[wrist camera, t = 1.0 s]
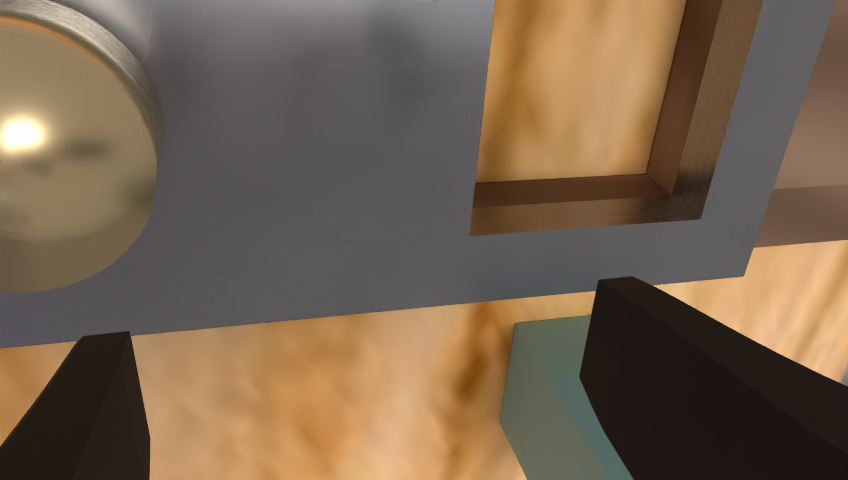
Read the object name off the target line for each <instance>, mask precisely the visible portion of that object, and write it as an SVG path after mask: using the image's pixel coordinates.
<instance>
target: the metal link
mask: <svg viewBox="0 0 848 480" xmlns="http://www.w3.org/2000/svg"><path fill="white" fill-rule="evenodd" d="M835 3H836V0H723V1H722V5H721V9H720V13H719V17H718V21H717V24H716V28H715V32H714V36H713V40H712V44H711V47H710V51H709V55H708V59H707V63H706V67H705V70H704V74H703V78H702V82H701V86H700V90H699V93H698V97H697V101H696V105H695V109H694V113H693V117H692V120H691V124H690V128H689V132H688V136H687V140H686V143H685V147H684V151H683V155H682V159H681V163H680V166H679V170H678V174H677V178H676V182H675V186H674V189H673V193H672V196H656V197H640V198H624V199H608V200H592V201H576V202H560V203H544V204H528V205H512V206H496V207H481V208H472V206H473V197H474V188H475V179H476V170H477V161H478V152H479V143H480V134H481V125H482V115H483V106H484V97H485V88H486V79H487V70H488V61H489V52H490V43H491V34H492V25H493V16H494V7H495V0H0V348H9V347H20V346H30V345H40V344H51V343H61V342H71V341H79V340H80V339H81V338H82V336H88V335H97V334H106V333H115V332H124V331H130V335H131V336H133V335H144V334H154V333H164V332H175V331H185V330H195V329H206V328H216V327H226V326H237V325H247V324H257V323H268V322H278V321H288V320H298V319H309V318H319V317H329V316H340V315H350V314H360V313H371V312H381V311H391V310H402V309H412V308H422V307H433V306H443V305H453V304H464V303H474V302H484V301H495V300H505V299H515V298H526V297H536V296H546V295H557V294H567V293H577V292H588V291H596V289H597V284H598V280H601V279H610V278H619V277H628V276H633V277H635V278H637V279H640V280H642V281H644V282H646V283H648V284H650V285H660V284H670V283H681V282H691V281H701V280H712V279H722V278H732V277H743V276H744V274H745V271H746V268H747V265H748V262H749V259H750V256H751V253H752V250H753V247H754V244H755V241H756V238H757V235H758V232H759V229H760V226H761V223H762V220H763V217H764V215H765V212H766V209H767V206H768V203H769V200H770V197H771V194H772V191H773V188H774V185H775V182H776V179H777V176H778V173H779V170H780V167H781V164H782V161H783V158H784V155H785V152H786V149H787V146H788V143H789V140H790V137H791V134H792V131H793V128H794V125H795V122H796V119H797V116H798V113H799V110H800V107H801V104H802V101H803V98H804V95H805V92H806V89H807V86H808V83H809V80H810V77H811V74H812V71H813V68H814V65H815V62H816V60H817V57H818V54H819V51H820V48H821V45H822V42H823V39H824V36H825V33H826V30H827V27H828V24H829V21H830V18H831V15H832V12H833V9H834V6H835Z"/></svg>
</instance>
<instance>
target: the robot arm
mask: <svg viewBox="0 0 848 480" xmlns="http://www.w3.org/2000/svg"><path fill="white" fill-rule="evenodd" d="M579 378H580V380H581V383H582V385H583V387H584V390H585V392H586V394H587V397H588V399H589V401H590V404H591V406H592V408H593V410H594V412H595V414H596V417H597V419H598V421H599V423H600V425H601V427H602V429H603V431H604V433H605V434H606V436H607V438H608V439H609V441H610V443H611V444H612V446H613V447H614V449H615V451H616V452H617V454H618V455H619V457H620V459H621V460H622V462H623V464H624V465H625V467H626V468H627V470H628V472H629V473H630V475H631V476H632V478H633V479H634V480H848V387H847V386H845V385H843V384H841V383H839V382H836V381H834V380H832V379H830V378H827V377H825V376H823V375H821V374H819V373H817V372H815V371H813V370H811V369H809V368H807V367H805V366H803V365H801V364H799V363H796V362H794V361H792V360H790V359H788V358H786V357H784V356H782V355H780V354H778V353H776V352H774V351H772V350H771V349H769V348H767V347H765V346H763V345H761V344H759V343H757V342H755V341H753V340H751V339H750V338H748V337H746V336H744V335H742V334H740V333H738V332H737V331H735V330H733V329H731V328H729V327H727V326H726V325H724V324H722V323H720V322H718V321H717V320H715V319H713V318H711V317H709V316H707V315H706V314H704V313H702V312H700V311H698V310H697V309H695V308H693V307H691V306H689V305H688V304H686V303H684V302H682V301H680V300H679V299H677V298H675V297H673V296H671V295H669V294H667V293H666V292H664V291H662V290H660V289H658V288H656V287H654V286H652V285H650V284H648V283H646V282H644V281H642V280H640V279H637V278H635V277H633V276H628V277H619V278H610V279H601V280H598V284H597V289H596V294H595V299H594V304H593V309H592V314H591V319H590V324H589V329H588V334H587V339H586V344H585V349H584V354H583V359H582V364H581V369H580V374H579ZM149 477H150V435H149V429H148V424H147V419H146V414H145V408H144V403H143V398H142V393H141V387H140V382H139V377H138V372H137V367H136V361H135V356H134V351H133V346H132V340H131V335H130V331H124V332H115V333H106V334H97V335H88V336H82V338H81V339H80V340H79V341H78V342H77V343H76V344H75V345H74V347H73V348H72V350H71V351H70V353H69V354H68V355H67V357H66V358H65V360H64V361H63V363H62V364H61V366H60V367H59V368H58V370H57V371H56V373H55V374H54V376H53V377H52V378H51V380H50V381H49V383H48V384H47V386H46V387H45V388H44V390H43V391H42V392H41V394H40V395H39V397H38V398H37V399H36V401H35V402H34V403H33V405H32V406H31V407H30V409H29V410H28V411H27V413H26V414H25V415H24V416H23V418H22V419H21V420H20V422H19V423H18V424H17V426H16V427H15V428H14V429H13V431H12V432H11V433H10V435H9V436H8V437H7V438H6V440H5V441H4V442H3V444H2V445H1V446H0V480H149Z"/></svg>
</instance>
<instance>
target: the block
mask: <svg viewBox="0 0 848 480" xmlns="http://www.w3.org/2000/svg"><path fill="white" fill-rule="evenodd" d="M590 319H591V315H587V316H577V317H568V318H558V319H549V320H539V321H530V322H520V323H515V329H514V335H513V341H512V348H511V354H510V360H509V367H508V373H507V379H506V386H505V392H504V398H503V405H502V411H501V417H500V423H501V425H502V428H503V430H504V432H505V434H506V436H507V438H508V440H509V442H510V444H511V446H512V448H513V451H514V453H515V455H516V457H517V459H518V461H519V463H520V465H521V467H522V469H523V471H524V474H525V476H526V478H527V480H634V479H633V478H632V476H631V475H630V473H629V472H628V470H627V468H626V467H625V465H624V464H623V462H622V460H621V459H620V457H619V455H618V454H617V452H616V451H615V449H614V447H613V446H612V444H611V443H610V441H609V439H608V438H607V436H606V434H605V433H604V431H603V429H602V427H601V425H600V423H599V421H598V419H597V417H596V414H595V412H594V410H593V408H592V406H591V404H590V401H589V399H588V397H587V394H586V392H585V390H584V387H583V385H582V383H581V380H580V378H579V374H580V369H581V364H582V359H583V354H584V349H585V344H586V339H587V334H588V329H589V324H590Z"/></svg>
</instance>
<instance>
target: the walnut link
mask: <svg viewBox="0 0 848 480" xmlns="http://www.w3.org/2000/svg"><path fill="white" fill-rule="evenodd" d="M722 1H723V0H688V1H687V5H686V10H685V14H684V18H683V22H682V26H681V31H680V35H679V39H678V43H677V47H676V52H675V56H674V60H673V64H672V69H671V73H670V77H669V81H668V85H667V90H666V94H665V98H664V102H663V106H662V111H661V115H660V119H659V123H658V128H657V132H656V136H655V140H654V144H653V149H652V153H651V157H650V161H649V165H648V170H647V174H640V175H622V176H603V177H585V178H566V179H548V180H529V181H511V182H492V183H475V188H474V197H473V206H472V208H481V207H496V206H512V205H528V204H544V203H560V202H576V201H592V200H608V199H624V198H640V197H656V196H672V193H673V189H674V186H675V182H676V178H677V174H678V170H679V166H680V163H681V159H682V155H683V151H684V147H685V143H686V140H687V136H688V132H689V128H690V124H691V120H692V117H693V113H694V109H695V105H696V101H697V97H698V93H699V90H700V86H701V82H702V78H703V74H704V70H705V67H706V63H707V59H708V55H709V51H710V47H711V44H712V40H713V36H714V32H715V28H716V24H717V21H718V17H719V13H720V9H721V5H722ZM837 240H848V0H836V3H835V6H834V9H833V12H832V15H831V18H830V21H829V24H828V27H827V30H826V33H825V36H824V39H823V42H822V45H821V48H820V51H819V54H818V57H817V60H816V62H815V65H814V68H813V71H812V74H811V77H810V80H809V83H808V86H807V89H806V92H805V95H804V98H803V101H802V104H801V107H800V110H799V113H798V116H797V119H796V122H795V125H794V128H793V131H792V134H791V137H790V140H789V143H788V146H787V149H786V152H785V155H784V158H783V161H782V164H781V167H780V170H779V173H778V176H777V179H776V182H775V185H774V188H773V191H772V194H771V197H770V200H769V203H768V206H767V209H766V212H765V215H764V217H763V220H762V223H761V226H760V229H759V232H758V235H757V238H756V241H755V244H754V247H753V248H756V247H767V246H779V245H791V244H802V243H814V242H826V241H837Z"/></svg>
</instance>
